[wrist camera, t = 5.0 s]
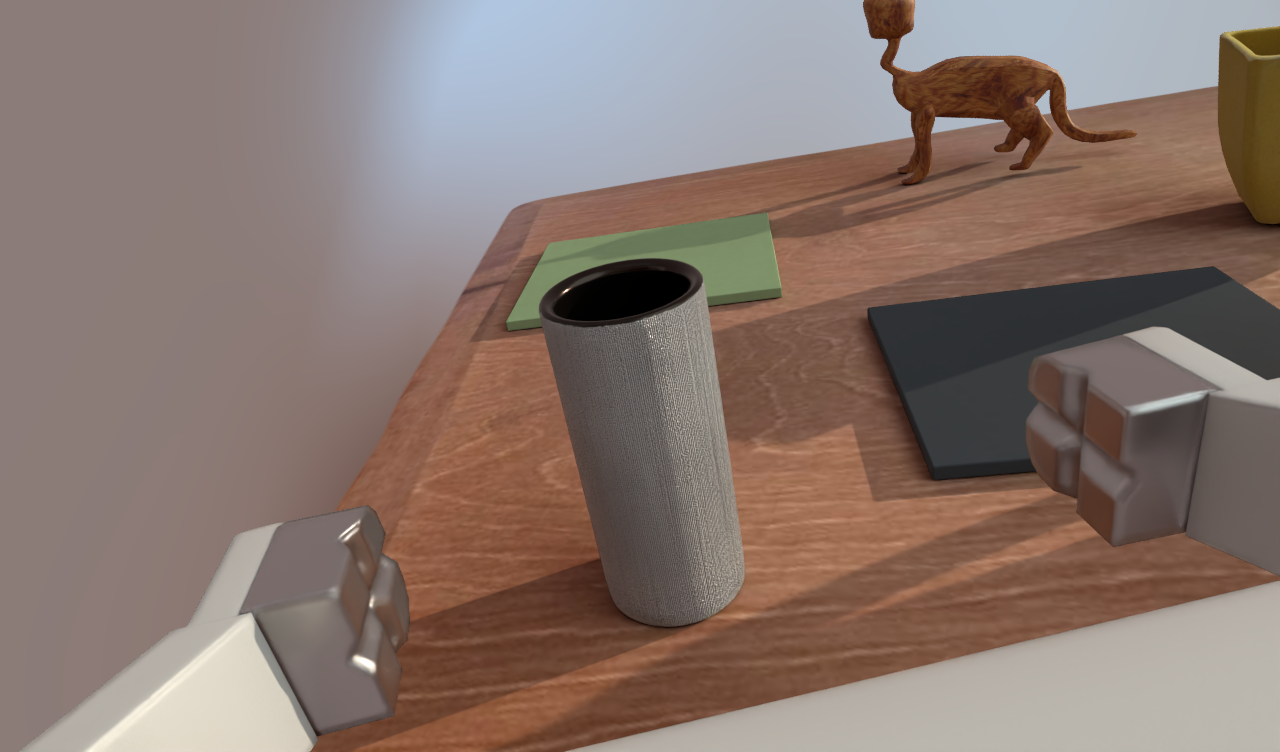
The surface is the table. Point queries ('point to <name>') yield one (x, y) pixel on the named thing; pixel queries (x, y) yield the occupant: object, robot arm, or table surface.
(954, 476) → the slate mat
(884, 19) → the cat figurine
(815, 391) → the table surface
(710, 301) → the sage mat
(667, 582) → the planter
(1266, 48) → the flower pot
